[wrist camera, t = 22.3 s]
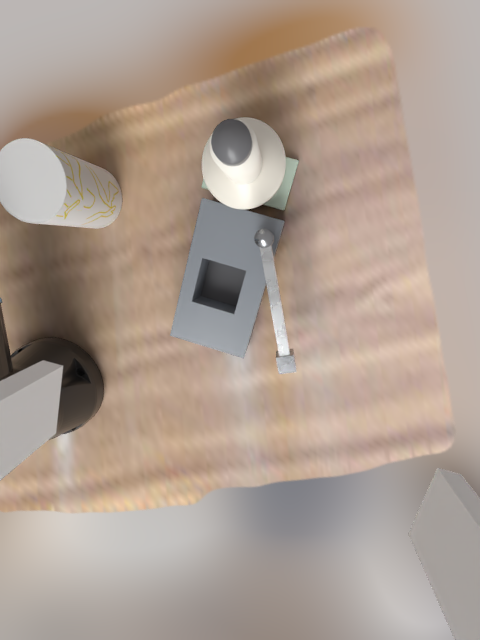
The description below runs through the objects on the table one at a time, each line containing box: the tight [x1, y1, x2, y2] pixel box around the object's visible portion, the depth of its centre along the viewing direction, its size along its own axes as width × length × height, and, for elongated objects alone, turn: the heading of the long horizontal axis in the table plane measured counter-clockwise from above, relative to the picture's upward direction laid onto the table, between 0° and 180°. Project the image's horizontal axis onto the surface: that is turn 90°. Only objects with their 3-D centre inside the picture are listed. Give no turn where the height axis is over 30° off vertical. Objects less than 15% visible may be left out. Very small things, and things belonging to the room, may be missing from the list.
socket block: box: [170, 198, 285, 358], centre depth 43 cm, size 10×18×5 cm, turn 165°
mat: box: [202, 157, 299, 211], centre depth 42 cm, size 11×6×1 cm, turn 75°
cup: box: [0, 138, 122, 229], centre depth 40 cm, size 8×8×12 cm
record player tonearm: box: [254, 229, 296, 374], centre depth 38 cm, size 2×16×4 cm, turn 11°
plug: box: [202, 117, 286, 210], centre depth 35 cm, size 9×9×14 cm
